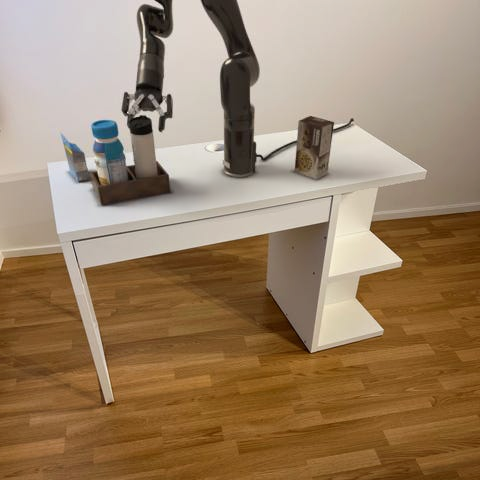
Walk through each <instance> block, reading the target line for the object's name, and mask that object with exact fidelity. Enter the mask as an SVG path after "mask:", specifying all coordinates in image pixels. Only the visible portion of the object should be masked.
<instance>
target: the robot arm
mask: <svg viewBox="0 0 480 480" xmlns="http://www.w3.org/2000/svg"><path fill="white" fill-rule="evenodd" d="M154 1H155V2H156V3H158V4H159V5H161V7H162V8H161V7H158V6H154V5H151V4H148V3H143V4H141V5H140V6H139V7H138V9H137V11H136V24H137V30H138V35H139V40H140V42H139V43H140V45H139V46H140V47H139V57H138V63H137V69H136V71H137V72H136V79H135V80H136V81H135V91H134V93H133V94H132V93H128V92H127V91H124V93H123V97H122V103H121V113H122V114H123V116H124V117H127V119H126V127H127V128H128V129H129V130H130V127H129V121H130V120H131V119H132V118H134V117H137V115H139V114H140V113H141V112H152V113H154V111H156V112H157V114H158V115H159V116H158V126H157V127H158V132H159V133H163V131H165V129H166V120H167V119H173V118H174V117H173V116H174V115H173V112H174V111H173V109H174V100H173V96H172V94H171V93H168V94H167V95H163V89H164V79H165V55H166V44H165V42H164V41H163V40H162V39H167V38H170V36H171V35H172V33H173V31H174V13H173V10H174V9H173V2H174V1H173V0H154ZM200 3H201V6H202V8H203V10H204V12H205V13H206V15H207V17H208V18H209V20H210V21H211V23H212V24H213V26H214V27H215V28H216V30H217V31H218V33H219V34H220V36H221V39H222V40H223V43H224V46H225V49H226V52H227V56H228V57H227V58H226V59H225V60H224V61H223V63H222V64H221V67H220V70H219V92H220V104H221V108H222V110H223V111H222V112H223V159H222V165H223V173H224V174H225V175H227V176H229V177H233V178H245V177H249V176H251V175H252V174H255V173H256V164H257V159H258V158H259V159H261V161H266V160H267V159H269V158H271V157H272V156H273V155H274V154H276V153H278V152H279V151H281V150H284V149H285V148H288V147H289V146H292V145H295V144H297V139H296V140H294V141H291V142H289V143H286V144H284V145H282V146H280V147H278V148H275V149H274V150H273V151H271V152H270V153H268V154H267V155H266V156H263V155H262V154H258V153H257V142H256V141H255V117H256V115H255V114H256V109H255V108H256V107H255V105H254V104H253V103H251V88H252V87H254V86H255V85H256V84H257V83H258V81H259V79H260V74H261V68H260V63H259V60H258V58H257V55H256V52H255V50H254V48H253V45H252V42H251V39H250V38H249V35H248V32H247V29H246V25H245V22H244V20H243V15H242V11H241V9H240V6H239V1H238V0H200ZM161 38H162V39H161ZM132 101H134V102H133V103H132ZM163 102H164V104H165V105H166V111H164V110H163V109H162V107H161V105H162V103H163ZM131 103H132V104H131ZM130 104H131V107H130ZM352 122H355V119H354V118H353V117H351V118H350V119H349V122H348V123H346V124H344V125H342V126H339V127H336V128H333V133H334V132H336V131H339V130H342V129H345V128H347V127H349V126H350V125H352Z"/></svg>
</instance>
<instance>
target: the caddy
mask: <svg viewBox="0 0 480 480" xmlns="http://www.w3.org/2000/svg"><path fill="white" fill-rule="evenodd" d="M156 165H157V174H158V176H154V177H148V178H142V179H136V172H135V164H131V165H126V168H127V175H128V181H125V182H119V183H113V184H108V185H102V186H100V181H99V177H98V172H97V170H94V171H90V172H89V177H90V180H91V185H92V189H93V192H94V193H95V196H96V198H97V199H98V202H99V203H100V205H101V206H107V205H111V204H112V205H113V204H118V203H123V202H128V201H134V200H138V199H139V200H140V199H144V198H148V197H154V196H155V197H156V196H159V195H165V194H170V193H171V183H170V175H169V173H168V172H167V170H165V168H164V167H163V166H162V165H161V164H160V163H159V161H158V160H156Z"/></svg>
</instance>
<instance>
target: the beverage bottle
mask: <svg viewBox="0 0 480 480" xmlns="http://www.w3.org/2000/svg"><path fill="white" fill-rule="evenodd" d="M91 131H92V136H93V138H94V139H95V140H94V142H93V146H92V152H93V153H94V157H93V159H94V163H95V166H96V171H97V172H98V177H99V181H100V186H102V185H108V184H113V183H119V182H125V181H128V175H127V168H126V166H127V158H126V154H125V153H124V150H125V148H124V144H123V143H122V142H121V140H120V139H119V127H118V123H117V122H116V121H114V120H112V119H100V120H96V121H93V122H92V123H91Z"/></svg>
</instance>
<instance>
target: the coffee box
mask: <svg viewBox="0 0 480 480" xmlns="http://www.w3.org/2000/svg"><path fill="white" fill-rule="evenodd" d="M334 126H335V121H332V120H328V119H324V118H321V117H317V116H312V115H308V116H307V117H304V118H302V119H299V120H298V124H297V135H296V140H297V143H296V149H295V160H294V161H295V162H294V173H296V174H297V173H298V174H300V175H302V176H306V177H307V178H310V179H311V178H312V179H314V180H318V179H320V178H323V177H324V176H326V175H328V170H329V162H330V156H331V149H332V141H333V134H334V132H333V129H334Z"/></svg>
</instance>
